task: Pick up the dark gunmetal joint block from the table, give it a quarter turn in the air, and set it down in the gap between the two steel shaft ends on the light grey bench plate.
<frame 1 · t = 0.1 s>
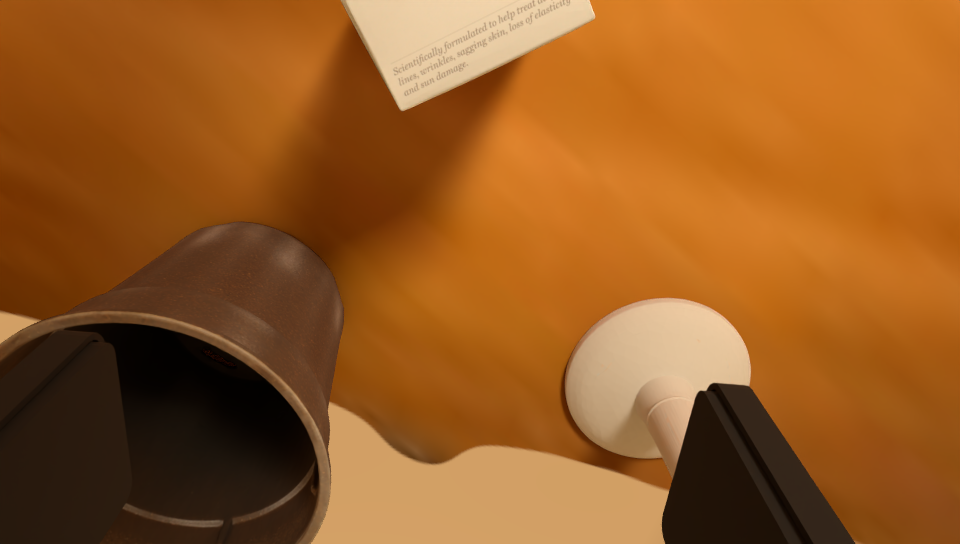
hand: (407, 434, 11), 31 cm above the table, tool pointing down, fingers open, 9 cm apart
plant pot: (253, 307, 45), on the table
candlestick: (654, 378, 48), on the table
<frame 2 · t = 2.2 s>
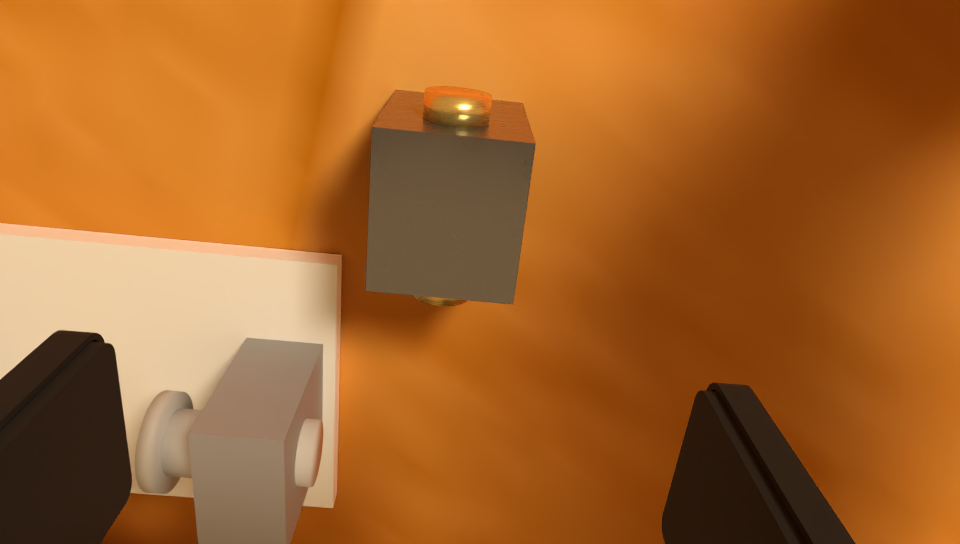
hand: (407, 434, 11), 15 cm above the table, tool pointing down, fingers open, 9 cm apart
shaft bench: (99, 363, 28), on the table
joint block: (453, 164, 25), on the table
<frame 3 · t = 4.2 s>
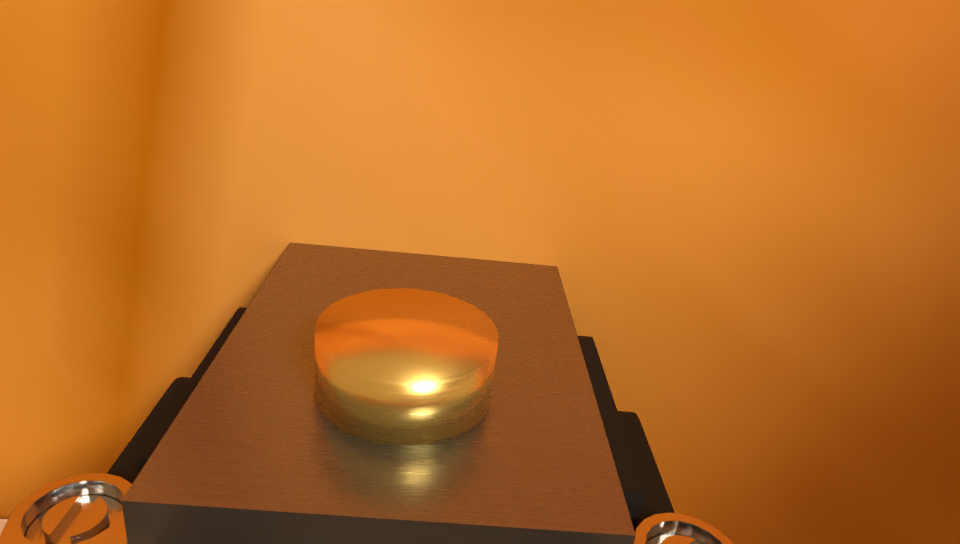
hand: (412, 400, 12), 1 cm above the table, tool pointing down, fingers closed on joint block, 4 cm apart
joint block: (415, 380, 12), on the table, touching gripper
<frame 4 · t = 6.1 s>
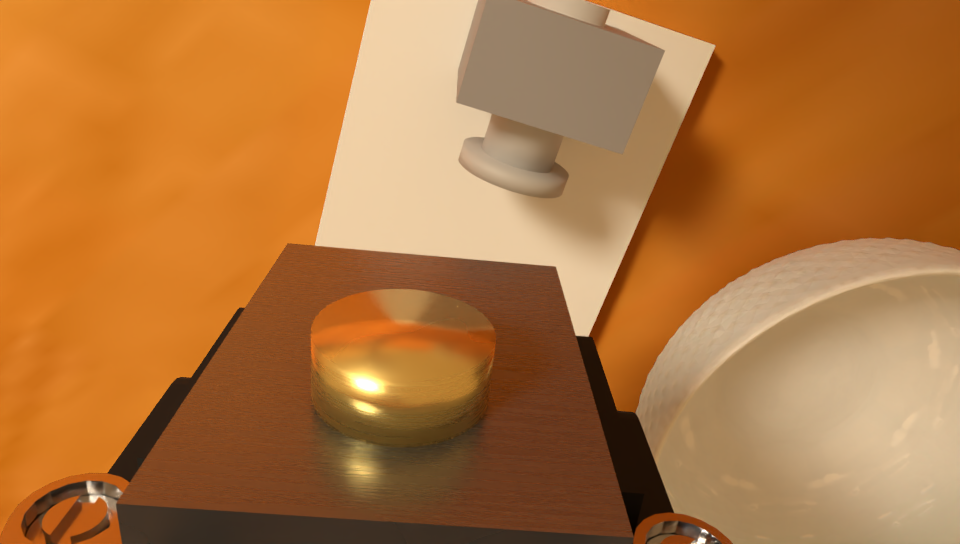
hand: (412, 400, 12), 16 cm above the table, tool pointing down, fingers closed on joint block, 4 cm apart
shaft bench: (471, 238, 28), on the table
joint block: (414, 380, 12), point 16 cm above the table, touching gripper
cereal bowl: (788, 367, 31), on the table
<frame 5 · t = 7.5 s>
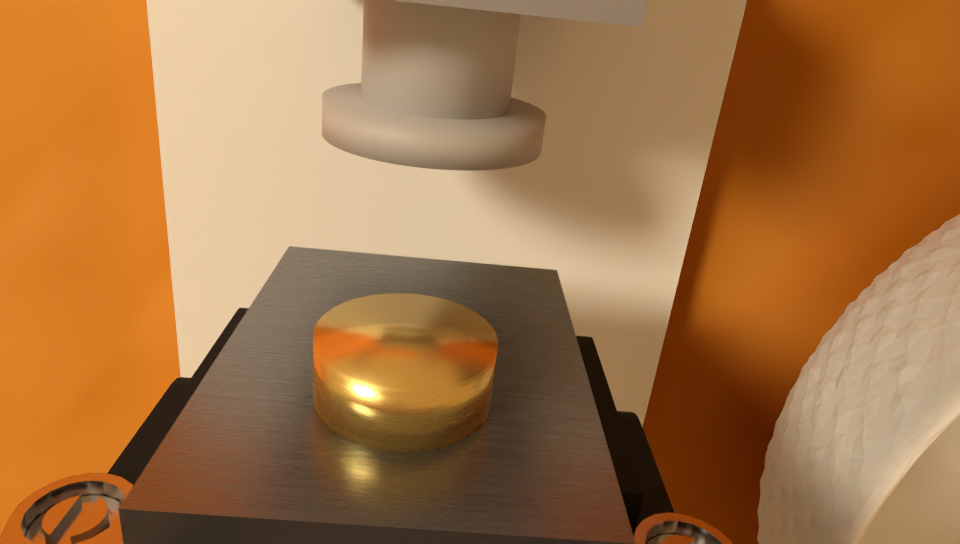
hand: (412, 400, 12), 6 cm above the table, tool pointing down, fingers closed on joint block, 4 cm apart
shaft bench: (428, 266, 17), on the table
joint block: (414, 383, 12), point 5 cm above the table, touching gripper
when the fingers open (3 cm above the table, at t = 8.3 s): joint block drops 2 cm, resting on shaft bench.
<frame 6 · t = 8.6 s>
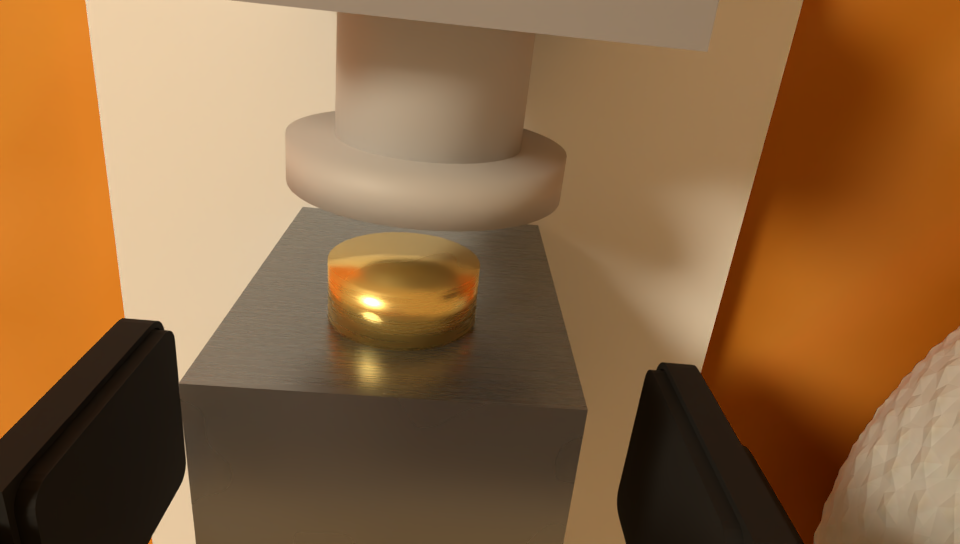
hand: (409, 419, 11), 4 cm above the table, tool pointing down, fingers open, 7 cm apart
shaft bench: (424, 311, 15), on the table
joint block: (414, 330, 14), point 1 cm above the table, touching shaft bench
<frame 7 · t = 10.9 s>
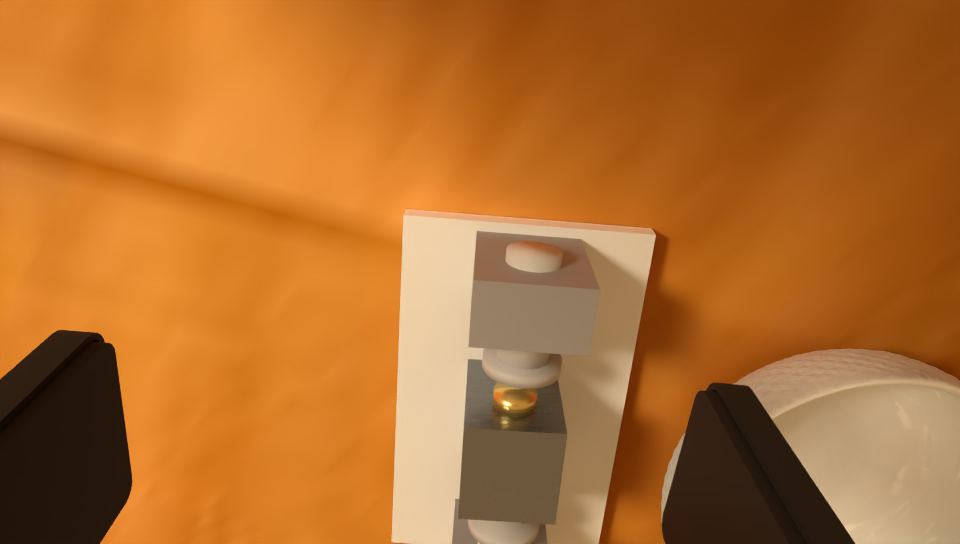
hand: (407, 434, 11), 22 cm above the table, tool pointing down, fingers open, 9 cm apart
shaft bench: (509, 394, 37), on the table
joint block: (507, 403, 36), point 1 cm above the table, touching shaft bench
cereal bowl: (790, 442, 38), on the table
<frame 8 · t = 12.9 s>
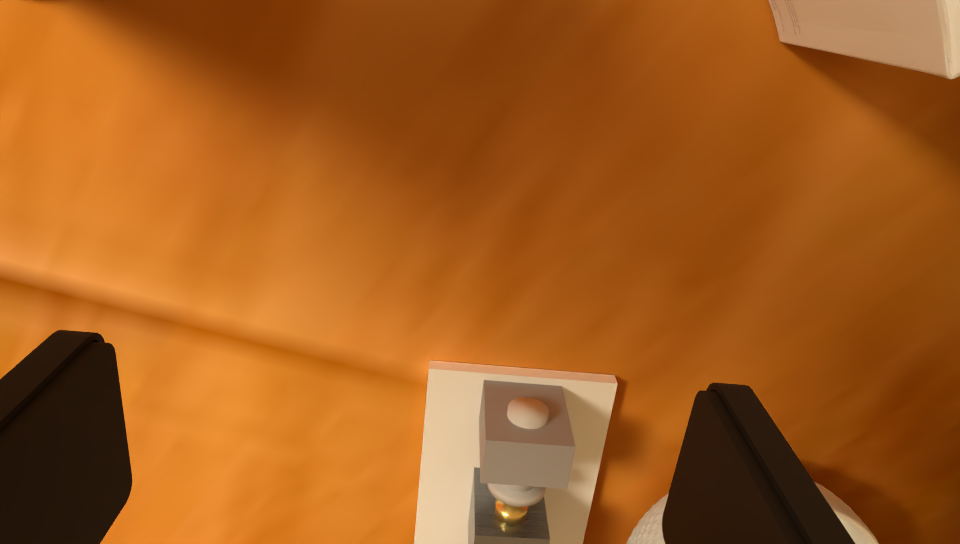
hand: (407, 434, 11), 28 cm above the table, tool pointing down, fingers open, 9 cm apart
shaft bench: (504, 488, 48), on the table
joint block: (503, 498, 47), point 1 cm above the table, touching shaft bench
cereal bowl: (718, 522, 50), on the table
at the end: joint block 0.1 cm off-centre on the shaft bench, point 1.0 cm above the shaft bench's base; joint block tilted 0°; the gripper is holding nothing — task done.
